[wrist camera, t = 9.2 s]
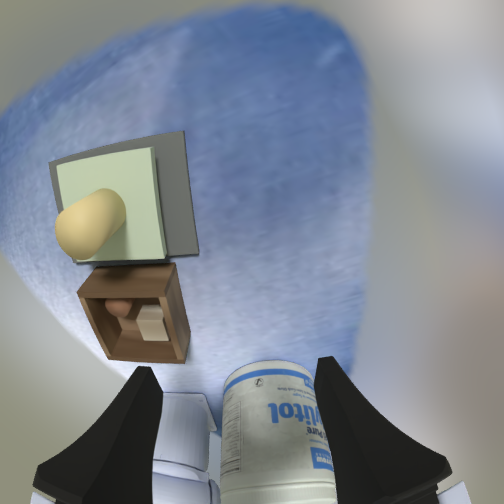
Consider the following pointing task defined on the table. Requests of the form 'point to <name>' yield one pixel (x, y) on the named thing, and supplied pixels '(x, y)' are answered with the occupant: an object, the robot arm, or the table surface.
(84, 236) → the lid
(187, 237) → the mat
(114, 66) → the table surface
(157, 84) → the table surface
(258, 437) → the supplement tub
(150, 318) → the box
